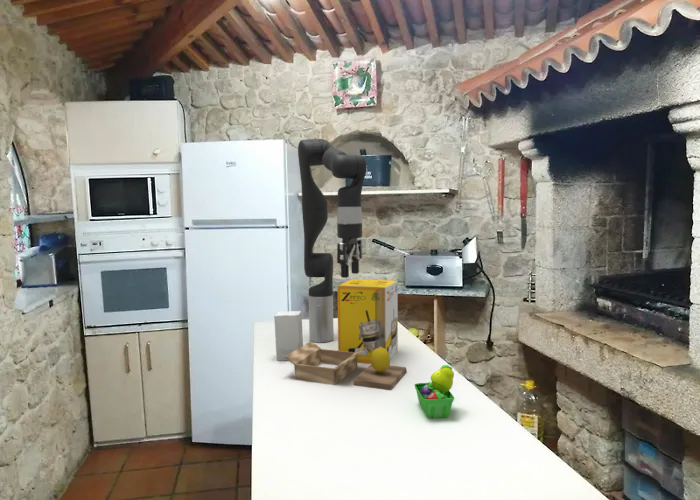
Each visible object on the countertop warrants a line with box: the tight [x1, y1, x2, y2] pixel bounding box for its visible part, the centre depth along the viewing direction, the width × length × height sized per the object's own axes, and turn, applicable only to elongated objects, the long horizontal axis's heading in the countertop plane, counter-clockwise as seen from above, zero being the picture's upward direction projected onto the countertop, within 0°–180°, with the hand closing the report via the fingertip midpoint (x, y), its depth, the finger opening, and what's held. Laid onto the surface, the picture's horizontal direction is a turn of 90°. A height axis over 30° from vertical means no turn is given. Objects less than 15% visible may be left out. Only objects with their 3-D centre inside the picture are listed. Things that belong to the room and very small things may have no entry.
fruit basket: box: [414, 364, 455, 419], centre depth 122 cm, size 11×9×11 cm
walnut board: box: [353, 363, 407, 391], centre depth 146 cm, size 16×11×2 cm
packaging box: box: [336, 278, 399, 365], centre depth 168 cm, size 16×16×25 cm
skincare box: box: [273, 310, 304, 362], centre depth 166 cm, size 8×7×16 cm
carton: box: [285, 341, 367, 386], centre depth 151 cm, size 17×20×7 cm
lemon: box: [370, 347, 391, 373], centre depth 146 cm, size 6×6×8 cm
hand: (350, 275), depth 151 cm, fingers open, 8 cm apart
